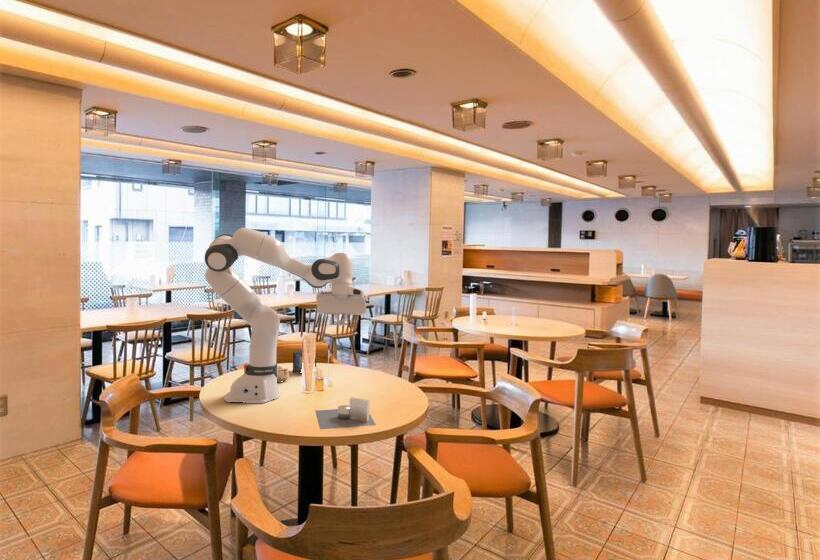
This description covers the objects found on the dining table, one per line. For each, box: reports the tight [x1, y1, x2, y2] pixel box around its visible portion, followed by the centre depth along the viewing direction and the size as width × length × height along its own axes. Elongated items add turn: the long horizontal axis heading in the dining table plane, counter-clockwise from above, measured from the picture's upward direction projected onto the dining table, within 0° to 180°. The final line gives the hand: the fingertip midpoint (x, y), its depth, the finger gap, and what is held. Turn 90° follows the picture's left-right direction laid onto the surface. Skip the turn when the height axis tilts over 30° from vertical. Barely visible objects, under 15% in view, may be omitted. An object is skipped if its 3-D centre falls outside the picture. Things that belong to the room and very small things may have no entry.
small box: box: [292, 349, 318, 374], centre depth 256 cm, size 11×6×10 cm, turn 70°
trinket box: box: [277, 363, 290, 382], centre depth 240 cm, size 13×15×8 cm
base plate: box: [315, 408, 377, 430], centre depth 189 cm, size 20×20×1 cm
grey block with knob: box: [337, 396, 370, 421], centre depth 187 cm, size 12×5×8 cm, turn 66°
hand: (341, 325), depth 206 cm, fingers closed
